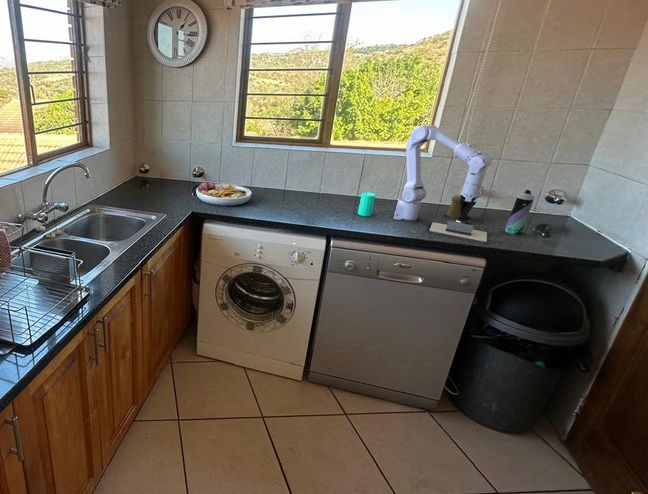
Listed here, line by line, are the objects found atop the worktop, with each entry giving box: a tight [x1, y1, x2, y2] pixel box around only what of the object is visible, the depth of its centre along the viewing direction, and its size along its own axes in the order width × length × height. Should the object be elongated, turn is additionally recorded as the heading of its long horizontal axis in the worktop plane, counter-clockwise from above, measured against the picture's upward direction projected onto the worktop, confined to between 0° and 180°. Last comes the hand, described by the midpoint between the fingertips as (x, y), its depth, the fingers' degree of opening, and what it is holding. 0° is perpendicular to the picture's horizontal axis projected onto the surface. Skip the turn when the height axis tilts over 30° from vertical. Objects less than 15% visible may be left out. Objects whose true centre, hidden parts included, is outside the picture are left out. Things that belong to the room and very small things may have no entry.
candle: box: [357, 191, 377, 217], centre depth 198 cm, size 6×6×12 cm
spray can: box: [504, 189, 535, 235], centre depth 173 cm, size 6×6×20 cm
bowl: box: [195, 181, 253, 207], centre depth 221 cm, size 30×30×8 cm
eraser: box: [446, 220, 474, 236], centre depth 175 cm, size 9×4×4 cm, turn 51°
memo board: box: [429, 222, 488, 243], centre depth 177 cm, size 20×14×1 cm
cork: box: [445, 194, 462, 219], centre depth 195 cm, size 6×6×11 cm
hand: (463, 213), depth 173 cm, fingers open, 7 cm apart
